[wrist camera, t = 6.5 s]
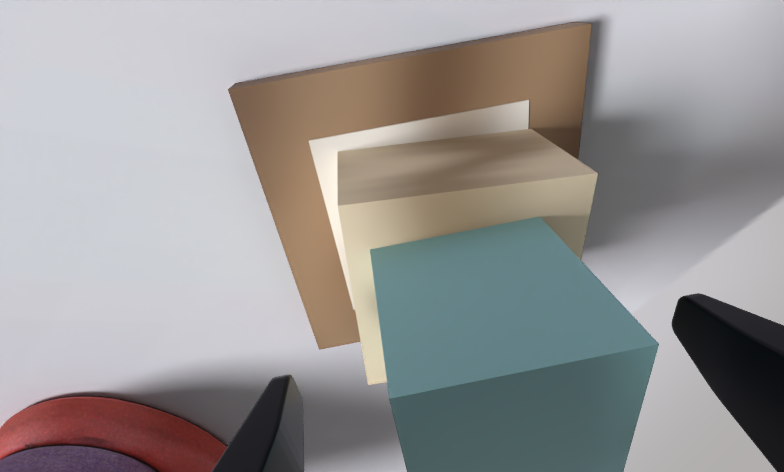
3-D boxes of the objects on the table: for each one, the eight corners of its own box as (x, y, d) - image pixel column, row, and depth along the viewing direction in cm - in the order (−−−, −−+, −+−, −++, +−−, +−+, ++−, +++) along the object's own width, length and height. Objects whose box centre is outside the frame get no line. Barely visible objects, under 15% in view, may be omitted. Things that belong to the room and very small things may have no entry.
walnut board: (574, 22, 13) (592, 23, 12) (553, 287, 19) (564, 302, 18) (235, 83, 13) (227, 89, 12) (320, 333, 18) (319, 350, 17)
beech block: (531, 128, 13) (598, 173, 10) (515, 282, 17) (561, 355, 13) (337, 151, 13) (337, 205, 10) (361, 304, 16) (367, 384, 13)
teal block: (539, 216, 10) (658, 343, 7) (534, 338, 13) (619, 486, 9) (369, 249, 10) (389, 398, 6) (395, 366, 13) (420, 527, 9)
